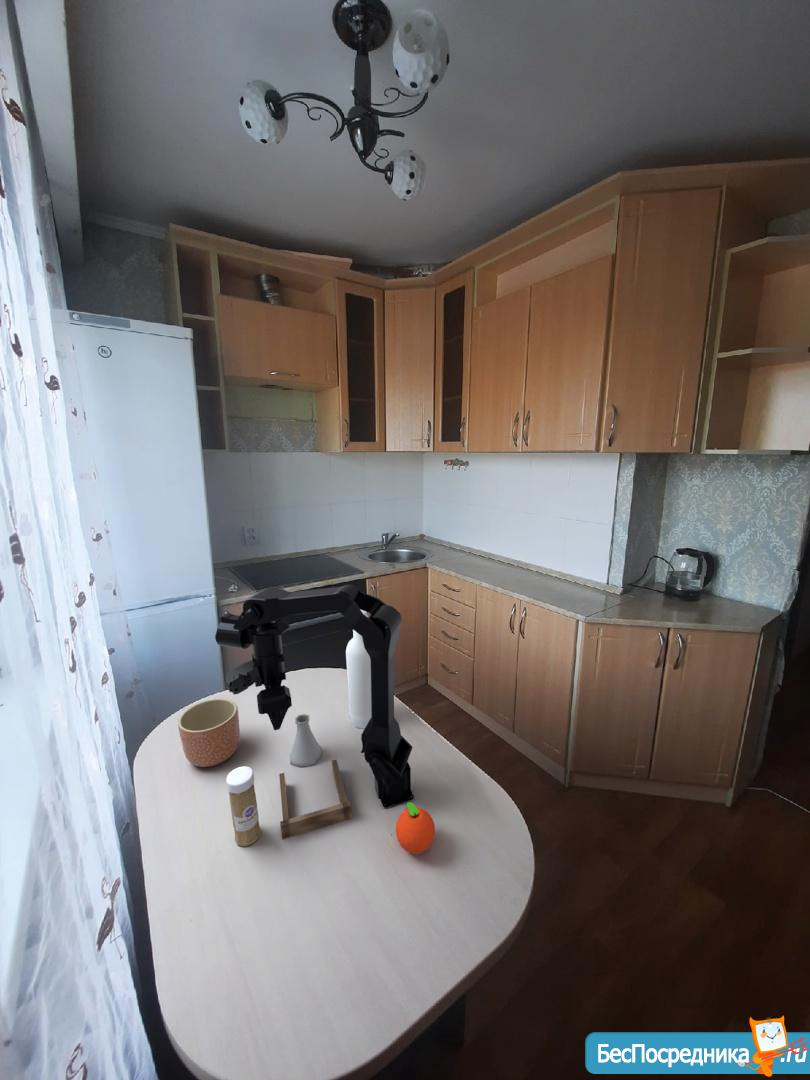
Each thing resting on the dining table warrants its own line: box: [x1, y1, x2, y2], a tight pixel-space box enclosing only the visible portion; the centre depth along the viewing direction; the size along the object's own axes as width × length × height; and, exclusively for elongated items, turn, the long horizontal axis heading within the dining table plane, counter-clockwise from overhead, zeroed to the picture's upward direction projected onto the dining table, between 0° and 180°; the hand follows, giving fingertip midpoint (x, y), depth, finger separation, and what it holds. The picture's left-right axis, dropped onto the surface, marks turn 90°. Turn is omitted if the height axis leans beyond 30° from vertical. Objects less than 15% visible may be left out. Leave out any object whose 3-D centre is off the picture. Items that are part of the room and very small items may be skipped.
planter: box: [177, 697, 241, 768], centre depth 99 cm, size 12×12×11 cm
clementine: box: [395, 801, 436, 855], centre depth 77 cm, size 8×7×7 cm
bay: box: [278, 758, 353, 840], centre depth 86 cm, size 13×13×3 cm
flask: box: [289, 713, 322, 768], centre depth 98 cm, size 7×7×10 cm
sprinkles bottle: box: [225, 765, 262, 847], centre depth 78 cm, size 5×5×14 cm
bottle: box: [345, 609, 371, 730], centre depth 108 cm, size 8×8×30 cm
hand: (275, 716), depth 93 cm, fingers open, 9 cm apart
